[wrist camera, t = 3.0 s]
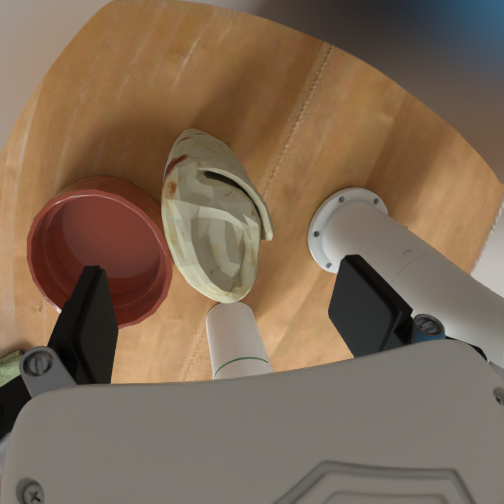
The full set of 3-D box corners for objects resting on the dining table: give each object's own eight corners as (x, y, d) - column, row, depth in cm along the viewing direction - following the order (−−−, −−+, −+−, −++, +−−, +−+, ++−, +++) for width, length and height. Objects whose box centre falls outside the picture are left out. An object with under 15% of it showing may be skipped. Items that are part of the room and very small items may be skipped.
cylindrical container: (221, 344, 45) (255, 496, 23) (196, 315, 41) (220, 487, 20) (261, 323, 45) (317, 475, 23) (239, 292, 41) (294, 463, 19)
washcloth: (69, 390, 44) (66, 402, 41) (22, 401, 44) (18, 412, 41) (23, 344, 38) (17, 357, 35) (-19, 363, 37) (-24, 374, 35)
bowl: (171, 171, 31) (167, 184, 26) (176, 298, 39) (177, 328, 34) (36, 181, 28) (13, 197, 23) (62, 300, 36) (49, 327, 30)
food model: (160, 135, 29) (122, 177, 12) (219, 117, 30) (265, 132, 13) (186, 214, 34) (191, 334, 17) (240, 197, 35) (299, 300, 17)
